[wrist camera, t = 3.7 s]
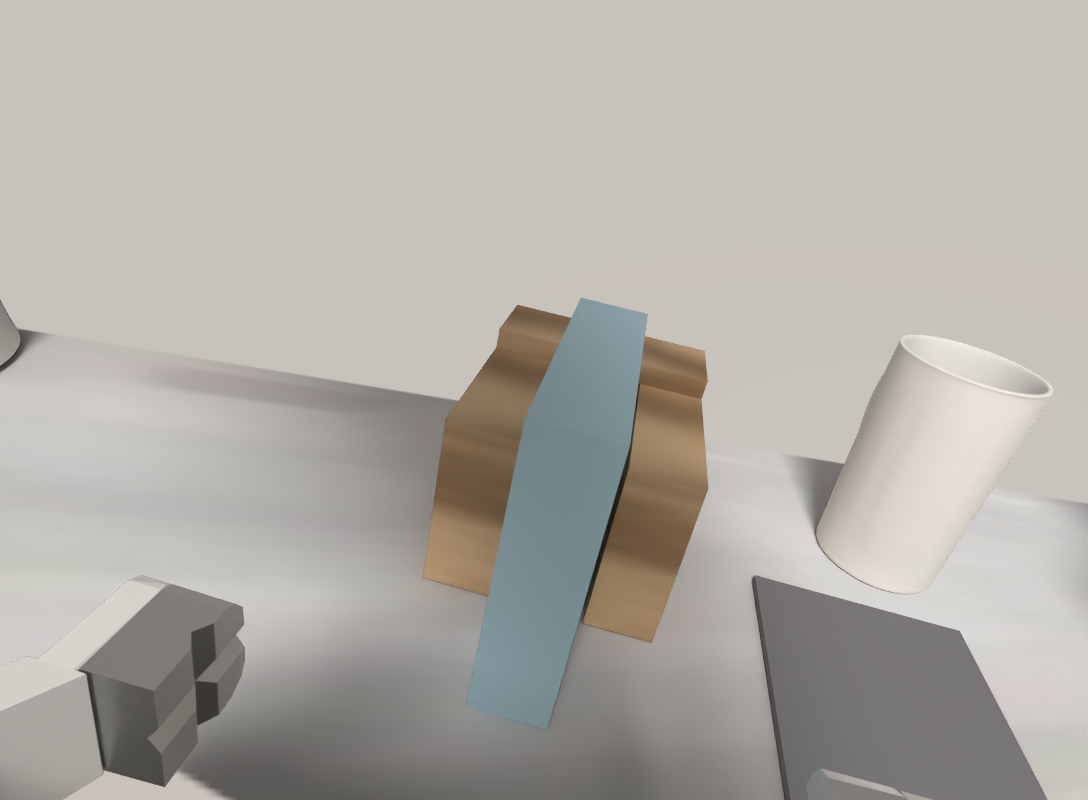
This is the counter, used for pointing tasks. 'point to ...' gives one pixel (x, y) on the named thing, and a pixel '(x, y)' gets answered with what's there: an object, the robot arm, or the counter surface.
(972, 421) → the mug
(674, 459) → the slot box
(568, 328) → the blue rectangular block
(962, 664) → the mat
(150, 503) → the counter surface
